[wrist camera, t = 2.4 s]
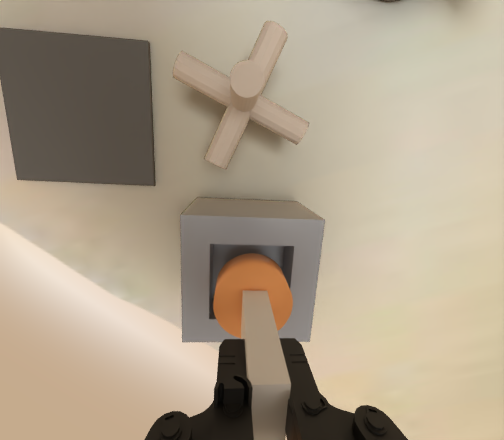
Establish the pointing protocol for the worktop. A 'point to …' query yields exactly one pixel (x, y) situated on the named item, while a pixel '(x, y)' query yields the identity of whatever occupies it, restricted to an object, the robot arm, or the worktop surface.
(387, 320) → the worktop surface
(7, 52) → the mat
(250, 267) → the plunger
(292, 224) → the housing
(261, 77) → the beige toy jack
